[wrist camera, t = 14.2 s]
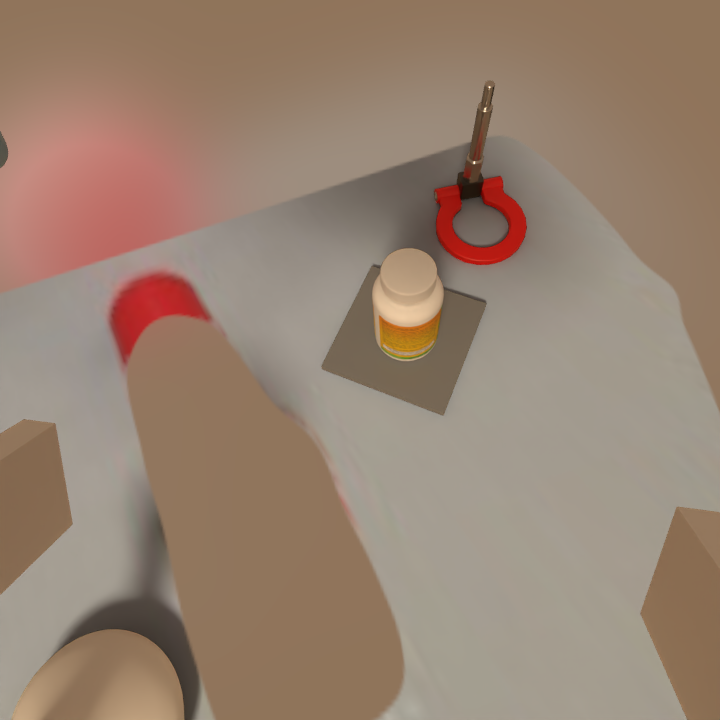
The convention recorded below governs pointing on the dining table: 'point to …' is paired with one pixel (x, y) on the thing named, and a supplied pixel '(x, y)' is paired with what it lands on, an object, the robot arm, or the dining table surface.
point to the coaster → (405, 378)
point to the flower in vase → (104, 682)
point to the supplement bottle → (407, 304)
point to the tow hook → (474, 186)
